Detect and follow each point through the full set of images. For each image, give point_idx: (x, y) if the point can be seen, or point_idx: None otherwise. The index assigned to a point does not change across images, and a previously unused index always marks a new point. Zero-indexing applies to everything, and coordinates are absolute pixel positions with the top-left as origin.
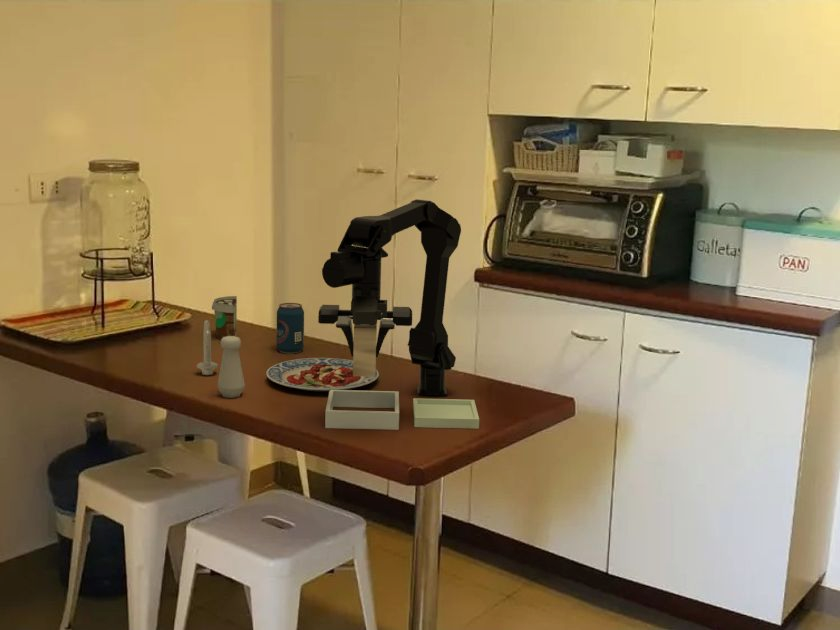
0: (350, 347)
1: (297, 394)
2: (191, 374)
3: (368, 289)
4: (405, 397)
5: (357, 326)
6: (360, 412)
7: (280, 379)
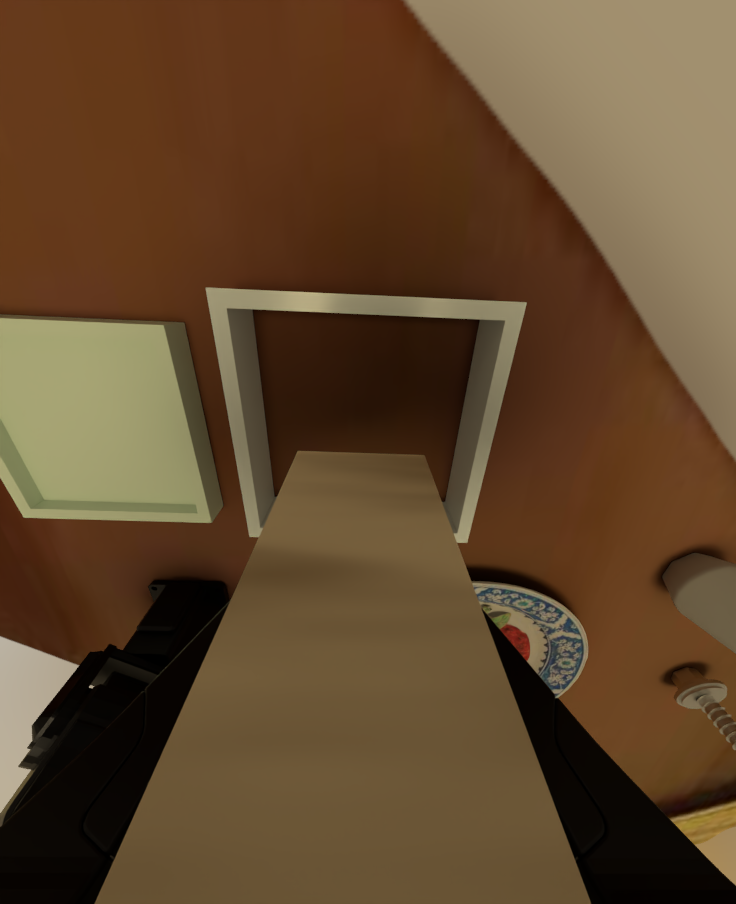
0: (492, 633)
1: (522, 579)
2: (717, 670)
3: None
4: None
5: None
6: (376, 295)
7: (560, 637)
